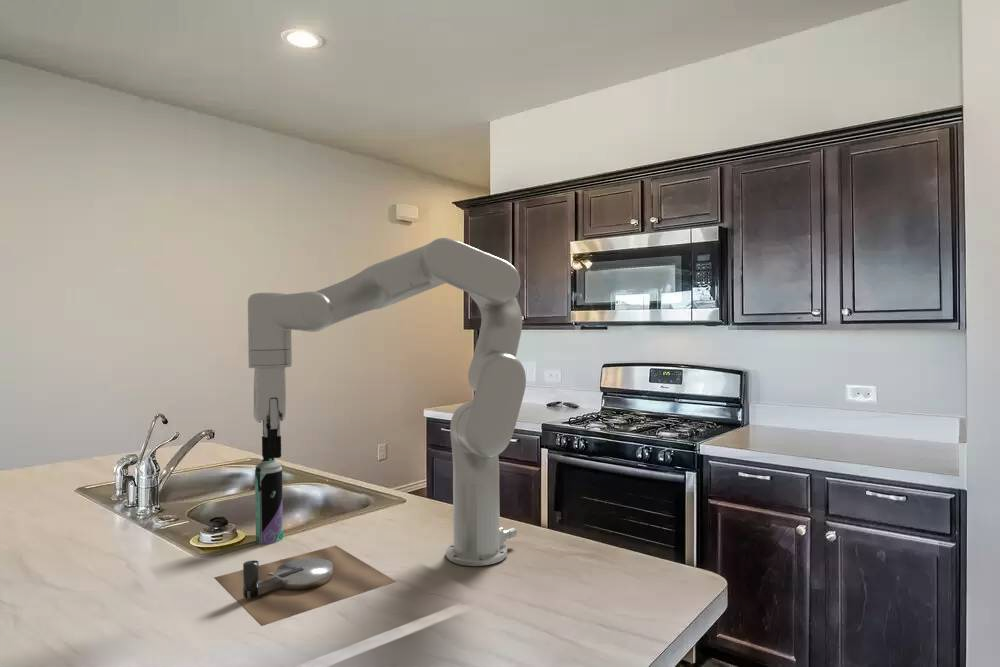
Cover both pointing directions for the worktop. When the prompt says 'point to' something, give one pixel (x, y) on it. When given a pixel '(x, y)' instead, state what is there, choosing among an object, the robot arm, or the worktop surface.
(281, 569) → the dial
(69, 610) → the worktop surface
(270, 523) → the spray can
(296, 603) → the board
